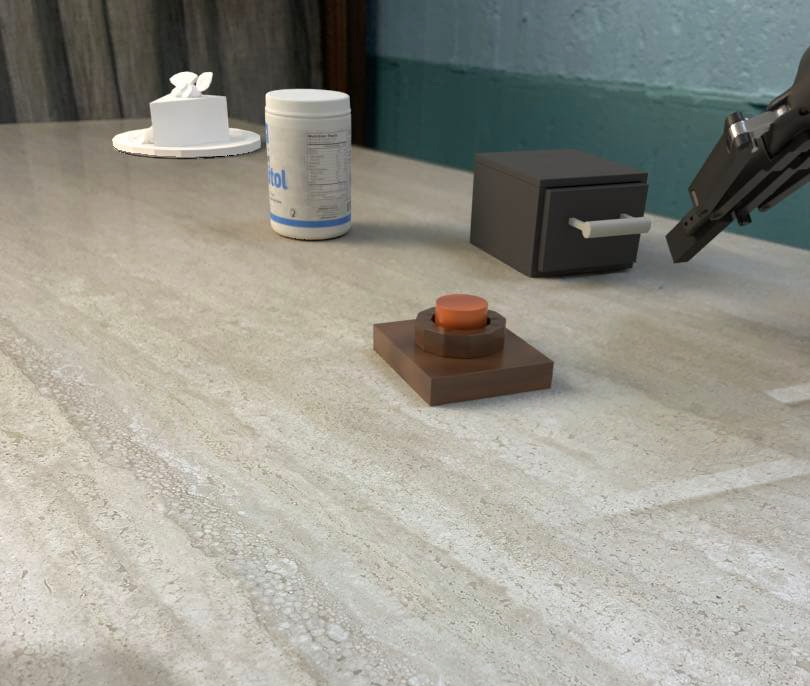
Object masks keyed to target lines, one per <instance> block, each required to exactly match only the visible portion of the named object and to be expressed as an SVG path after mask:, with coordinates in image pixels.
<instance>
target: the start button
mask: <svg viewBox="0 0 810 686" xmlns="http://www.w3.org/2000/svg"><path fill="white" fill-rule="evenodd" d="M434 307H435V324H436V325H437V326H441V327H444V328H448V329H455V330H472V329H480V328H483V327H485V326H487V314H488V310H489V302H488V300H487V299H485V298H484V297H481V296H478V295H473V294H466V293H452V294H450V293H449V294H445V295H442V296H439V297H438V298H437V299H436V300H435V306H434Z"/></svg>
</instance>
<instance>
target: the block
mask: <svg viewBox="0 0 810 686" xmlns="http://www.w3.org/2000/svg"><path fill="white" fill-rule="evenodd" d="M435 307H436V306H431V307H428V308H427V309H424V310H422V311H419V312H418V313H417V315H416V317H415V318H414V319H413V318H412V319H404V320H396V321H388V322H387V321H386V322H378V323H373V324H372V347H373V348H372V349H373V350H374V352H375V353H376V354H377V355H378V356H379V357H380V358H381V359H383V361H384V362H385V363H386V364H387V365H388V366H389V367H390V368H391V369H392V370H393V371H394V372H395V373H396V374H397V375H398V376H399V377H400V378H401V379H402V380H403V381H404V382H405V383H406V384H407V385H408V386H409V387H410V389H412V390H413V391H414V392H415V393H416V394H417V395H418V396H419V397H420V398H421V400H423V401H424V402H425V403H426V404H427V405H428V406H429V407H430V408H431V407H437V406H445V405H451V404H458V403H465V402H470V401H471V402H472V401H478V400H484V399H490V398H496V397H502V396H509V395H516V394H523V393H531V392H536V391H542V390H543V391H544V390H548V389H549V390H550V389H552V381H553V375H554V374H553V373H554V367H555V361H554V360H552V359H551V358H550V357H548V356H547V355H545V354H544V353H543V352H541V351H540V350H538V349H537V348H536V347H534V346H533V345H532V344H530V343H529V342H527V341H526V340H524V338H521V337H520V336H518V335H517V334H516V333H514V332H513V331H512V330H510V329H509V328H507V327H506V326H507V318H506V317H504V316H503V315H502V314H500V313H499V312H497V311H495V310H492V309H488V314H487V326H485V327H483V328H480V329H472V330H455V329H448V328H444V327H441V326H437V325H436V324H435Z"/></svg>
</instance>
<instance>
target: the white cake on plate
mask: <svg viewBox="0 0 810 686" xmlns="http://www.w3.org/2000/svg"><path fill="white" fill-rule="evenodd" d="M213 76H214V74H213V72H212V71H207V72H202V73H201V74H200V75H198V74H196V73H194V72H191V71H183V72H182V71H181V72H178V73H175V74H174V75H172V76H171V77H170V78H169V82H170V83H171V84H172V85H173V86H175V87H174V88H173V89H171V92H170V93H168V94H166V95H164V96H162V97H159V98H158V99H155V100H153V101H151V102H149V111H150V119H151V126H150V127H148V128H142V129H135V130H128V131H125V132H121V133H118V134H116V135H115V136H114V137H113V138H112V147H113V146H114V147H115V148H117V149H118V150H122V151H126V152H131V153H141V154H148V155H157V156H176V157H196V156H198V157H199V156H201V157H202V156H225V157H230V156H229V155H234V156H238V155H237V154H239V155H244V154H249V153H252V152H254V151H257V150H259V149H261V147H262V146H261V145H262V142H261V141H262V139H261V135H260V134H258V133H256V132H254V131H251V130H246V129H240V128H234V127H230V126H229V114H228V102H227V96H223V95H211V94H203V93H202V92H205V91H206V90H207V89H209V88H210V85H211V84H212V80H213ZM195 84H196V85H195ZM114 147H113V148H114ZM115 148H114V149H115ZM248 152H249V153H248ZM243 153H244V154H243ZM227 155H228V156H227Z"/></svg>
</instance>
